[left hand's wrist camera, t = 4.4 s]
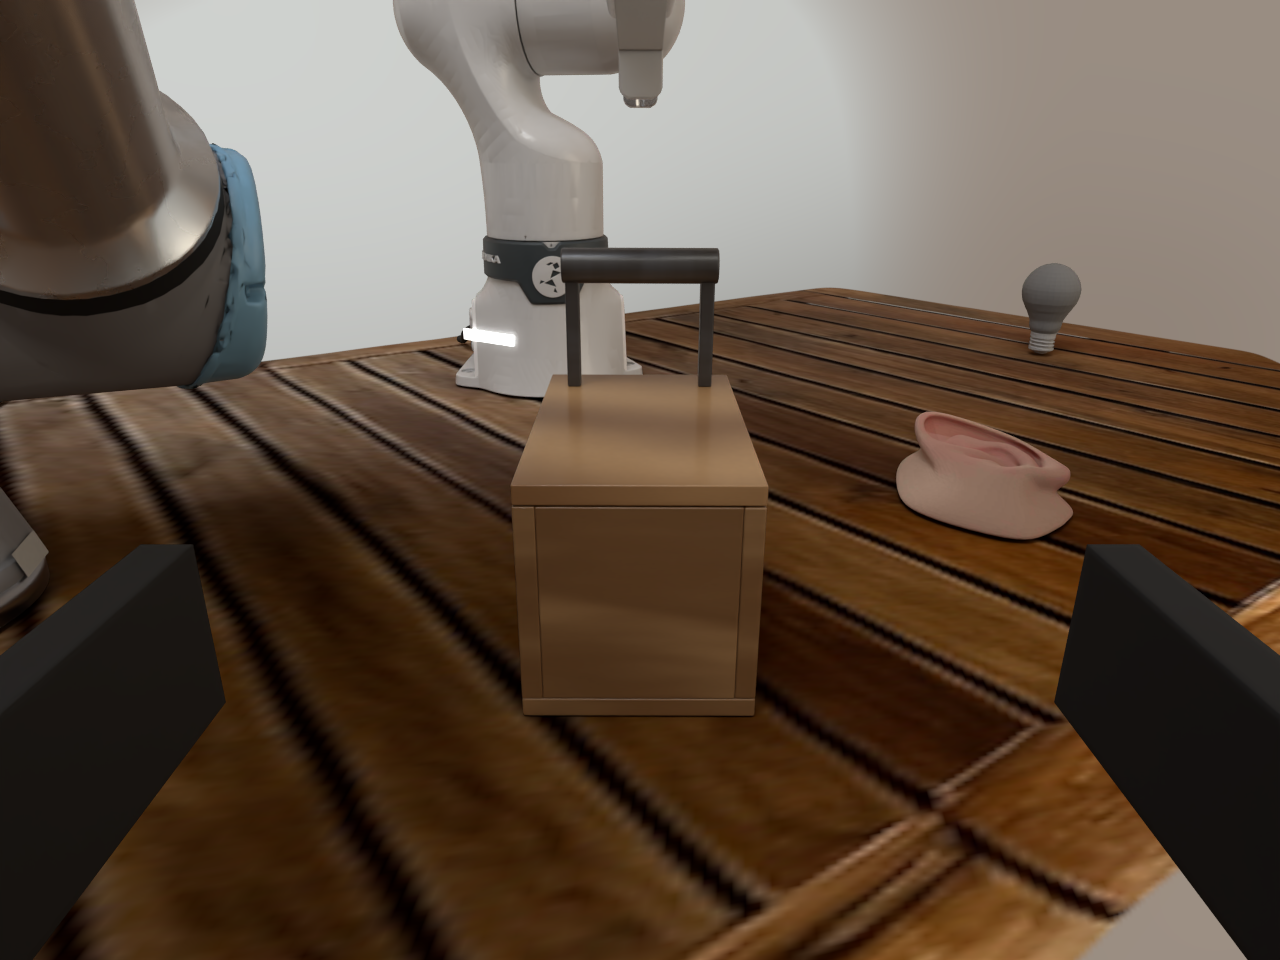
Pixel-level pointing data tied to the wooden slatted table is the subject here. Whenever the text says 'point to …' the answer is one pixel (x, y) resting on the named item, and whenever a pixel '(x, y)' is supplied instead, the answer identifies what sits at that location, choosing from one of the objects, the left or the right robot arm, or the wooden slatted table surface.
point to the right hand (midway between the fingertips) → (640, 103)
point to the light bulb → (1049, 302)
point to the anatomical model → (982, 479)
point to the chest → (638, 608)
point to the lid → (639, 409)
